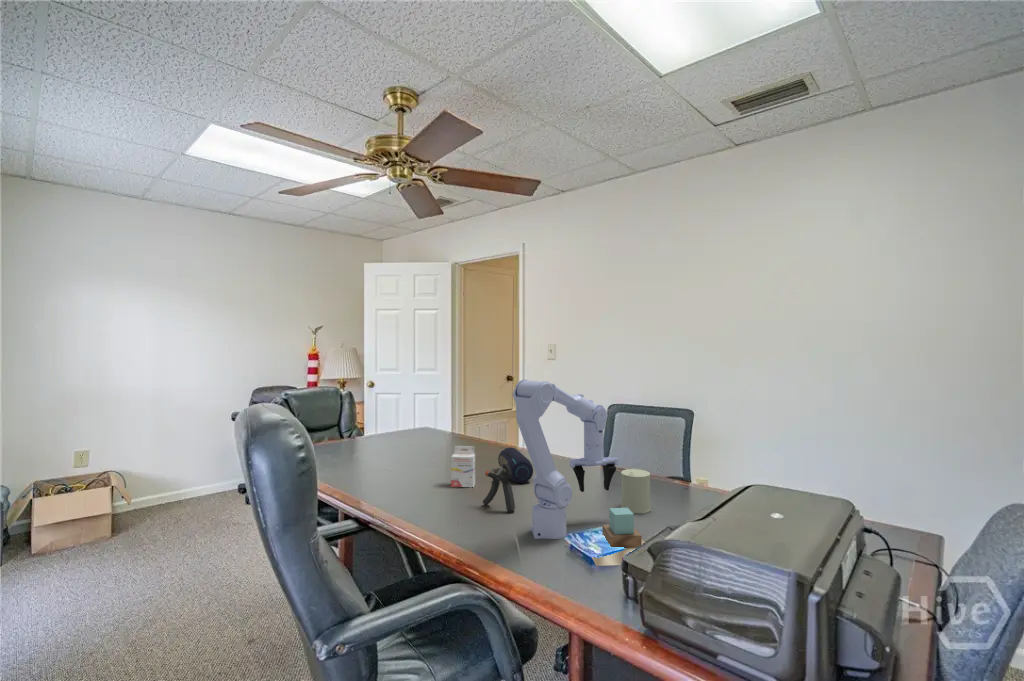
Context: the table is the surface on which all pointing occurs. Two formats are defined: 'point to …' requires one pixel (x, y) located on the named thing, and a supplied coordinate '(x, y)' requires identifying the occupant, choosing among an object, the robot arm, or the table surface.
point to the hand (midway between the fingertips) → (594, 490)
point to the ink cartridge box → (463, 467)
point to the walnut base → (622, 538)
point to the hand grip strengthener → (506, 487)
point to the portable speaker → (516, 464)
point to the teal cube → (621, 520)
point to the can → (636, 490)
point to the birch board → (613, 557)
